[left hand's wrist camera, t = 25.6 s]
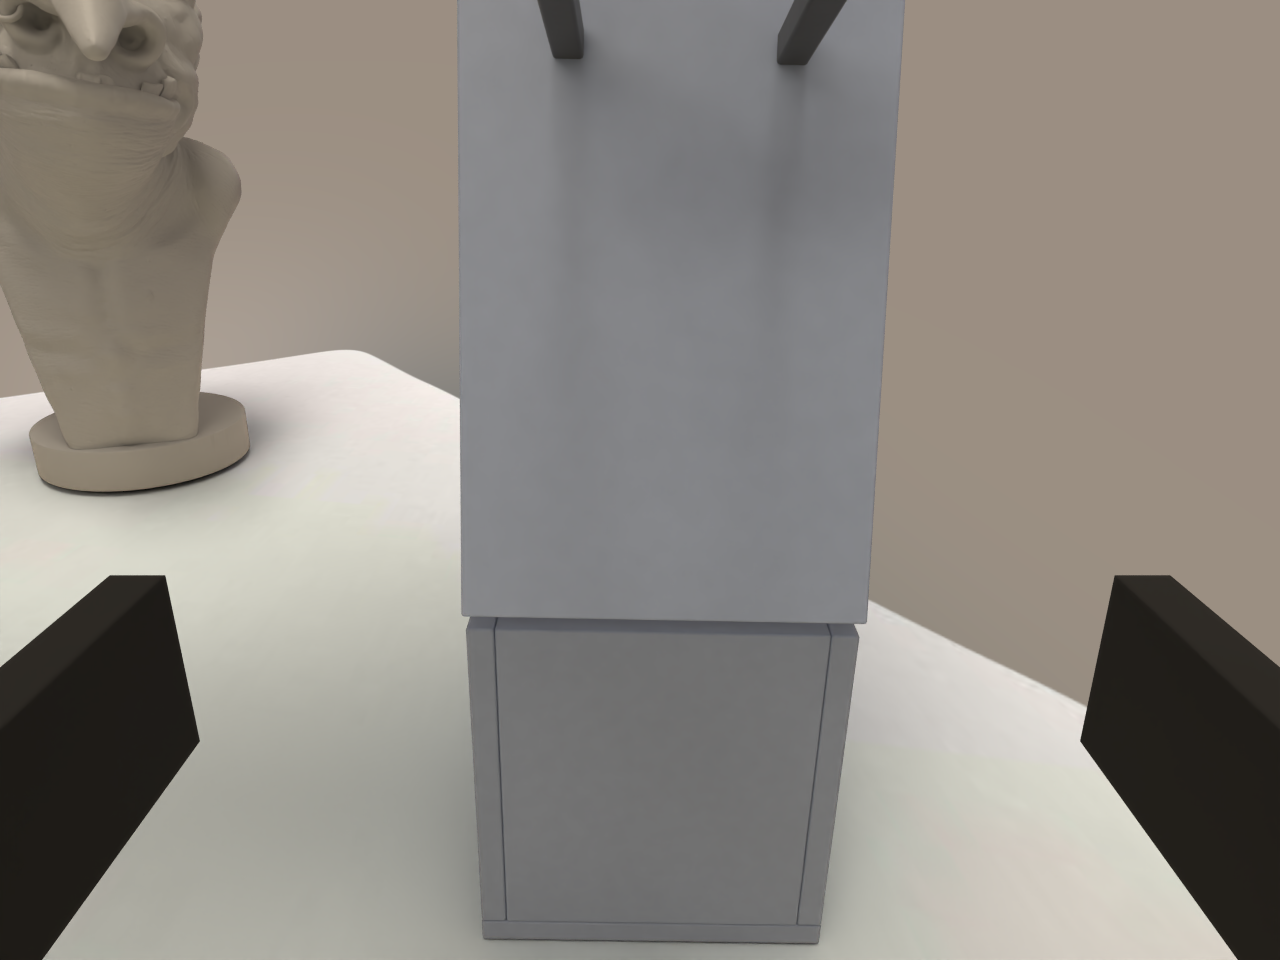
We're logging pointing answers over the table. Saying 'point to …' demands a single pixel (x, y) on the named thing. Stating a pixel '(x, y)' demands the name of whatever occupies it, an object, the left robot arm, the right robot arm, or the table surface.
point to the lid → (673, 304)
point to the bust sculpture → (113, 239)
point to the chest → (656, 776)
